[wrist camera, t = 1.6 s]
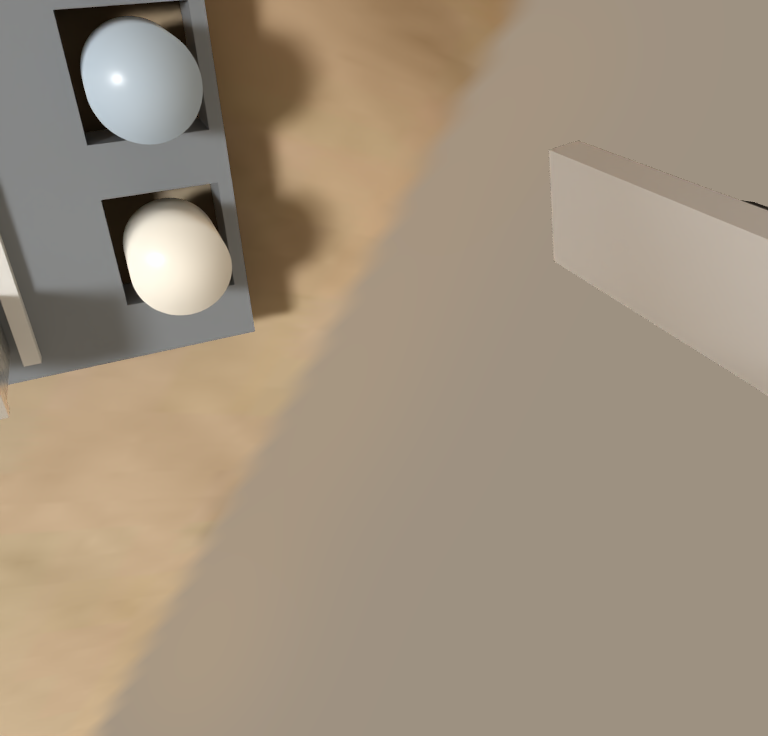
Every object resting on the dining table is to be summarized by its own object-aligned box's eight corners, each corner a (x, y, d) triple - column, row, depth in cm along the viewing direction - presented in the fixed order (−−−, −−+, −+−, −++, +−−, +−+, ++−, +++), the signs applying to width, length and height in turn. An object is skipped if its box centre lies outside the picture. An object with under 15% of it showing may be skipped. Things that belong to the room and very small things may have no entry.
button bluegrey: (95, 132, 29) (99, 151, 26) (67, 20, 26) (69, 29, 24) (196, 119, 30) (211, 136, 27) (178, 11, 28) (192, 19, 25)
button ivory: (134, 292, 32) (141, 324, 30) (112, 205, 30) (119, 231, 27) (223, 275, 33) (238, 304, 31) (208, 190, 31) (223, 214, 29)
